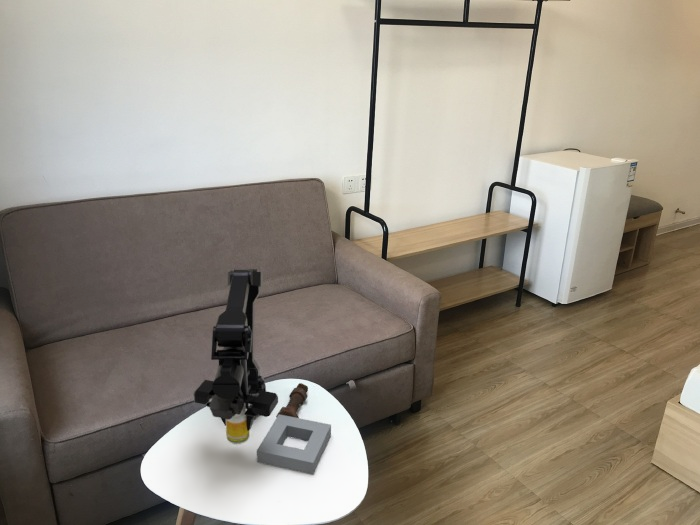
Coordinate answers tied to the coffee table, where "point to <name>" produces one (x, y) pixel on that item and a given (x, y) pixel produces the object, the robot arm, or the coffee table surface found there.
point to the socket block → (292, 457)
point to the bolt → (295, 401)
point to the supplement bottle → (237, 428)
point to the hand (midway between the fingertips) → (237, 427)
